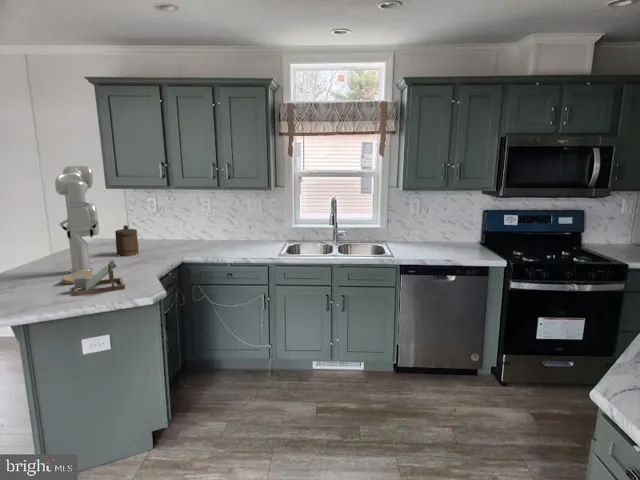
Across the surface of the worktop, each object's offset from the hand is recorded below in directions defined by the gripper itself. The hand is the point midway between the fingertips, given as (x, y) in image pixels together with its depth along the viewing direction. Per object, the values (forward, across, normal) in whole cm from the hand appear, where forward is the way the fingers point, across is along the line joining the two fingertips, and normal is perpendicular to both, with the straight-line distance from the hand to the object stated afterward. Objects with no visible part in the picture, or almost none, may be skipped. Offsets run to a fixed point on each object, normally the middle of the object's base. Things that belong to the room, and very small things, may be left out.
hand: (80, 237), depth 209 cm
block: (+24, 0, 0) cm, 24 cm away
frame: (+28, -6, +1) cm, 29 cm away
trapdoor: (+22, -8, +1) cm, 23 cm away
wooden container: (+29, -30, -82) cm, 92 cm away
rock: (+29, +1, -20) cm, 35 cm away
